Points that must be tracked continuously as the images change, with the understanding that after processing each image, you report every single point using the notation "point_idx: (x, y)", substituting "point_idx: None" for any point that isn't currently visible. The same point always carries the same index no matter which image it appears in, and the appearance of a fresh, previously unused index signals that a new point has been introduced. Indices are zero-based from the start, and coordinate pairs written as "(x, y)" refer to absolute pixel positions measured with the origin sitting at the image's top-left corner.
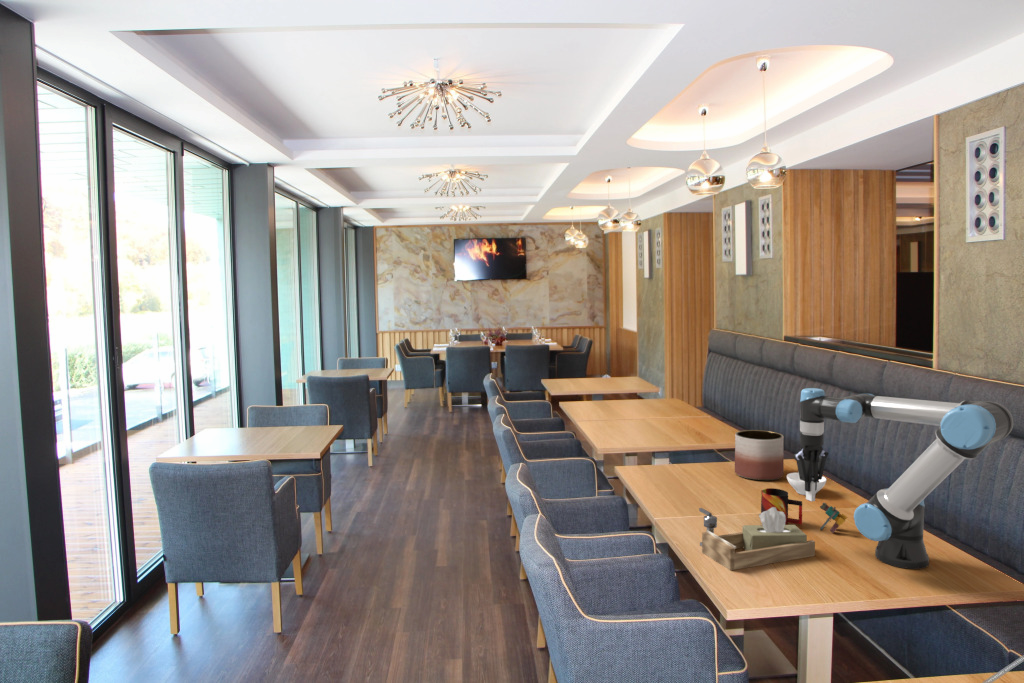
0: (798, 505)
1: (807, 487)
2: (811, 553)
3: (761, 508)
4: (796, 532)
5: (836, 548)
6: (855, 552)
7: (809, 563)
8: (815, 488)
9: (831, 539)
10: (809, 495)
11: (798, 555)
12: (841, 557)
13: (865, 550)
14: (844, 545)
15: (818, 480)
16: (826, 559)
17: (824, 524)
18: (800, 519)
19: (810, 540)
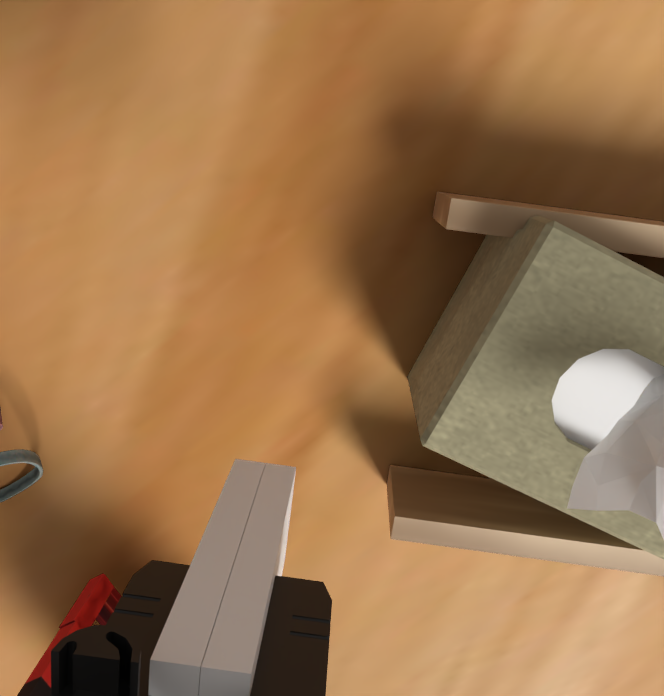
0: None
1: (327, 643)
2: (470, 196)
3: None
4: (580, 307)
5: (186, 212)
6: (121, 94)
7: (589, 111)
8: (151, 587)
9: (88, 340)
10: (282, 545)
11: (588, 212)
12: (290, 77)
13: (23, 85)
14: (90, 224)
15: (57, 673)
16: (418, 104)
17: (21, 457)
18: (92, 602)
19: (468, 229)
